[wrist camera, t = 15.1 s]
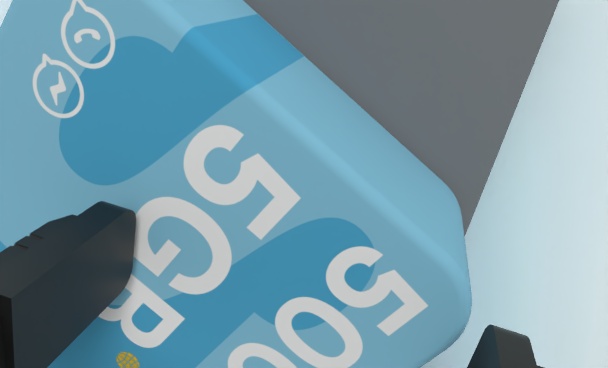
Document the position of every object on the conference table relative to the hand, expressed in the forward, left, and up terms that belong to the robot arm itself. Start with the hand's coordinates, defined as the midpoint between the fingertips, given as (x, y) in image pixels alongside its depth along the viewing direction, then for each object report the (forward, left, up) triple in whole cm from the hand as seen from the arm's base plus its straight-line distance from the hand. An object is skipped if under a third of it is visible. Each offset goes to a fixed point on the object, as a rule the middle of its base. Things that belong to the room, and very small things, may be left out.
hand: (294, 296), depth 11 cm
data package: (+9, -1, -3) cm, 10 cm away
